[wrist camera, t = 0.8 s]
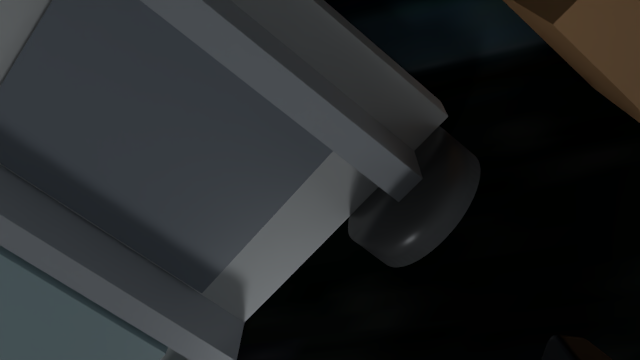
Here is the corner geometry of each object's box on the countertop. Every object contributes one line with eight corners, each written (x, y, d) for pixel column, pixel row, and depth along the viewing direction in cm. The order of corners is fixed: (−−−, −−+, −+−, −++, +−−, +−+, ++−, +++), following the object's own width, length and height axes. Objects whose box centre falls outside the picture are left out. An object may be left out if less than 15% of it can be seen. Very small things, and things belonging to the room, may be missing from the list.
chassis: (470, 126, 20) (504, 185, 16) (186, 405, 26) (159, 498, 22) (50, -237, 15) (-47, -281, 12) (-172, 198, 21) (-287, 266, 17)
